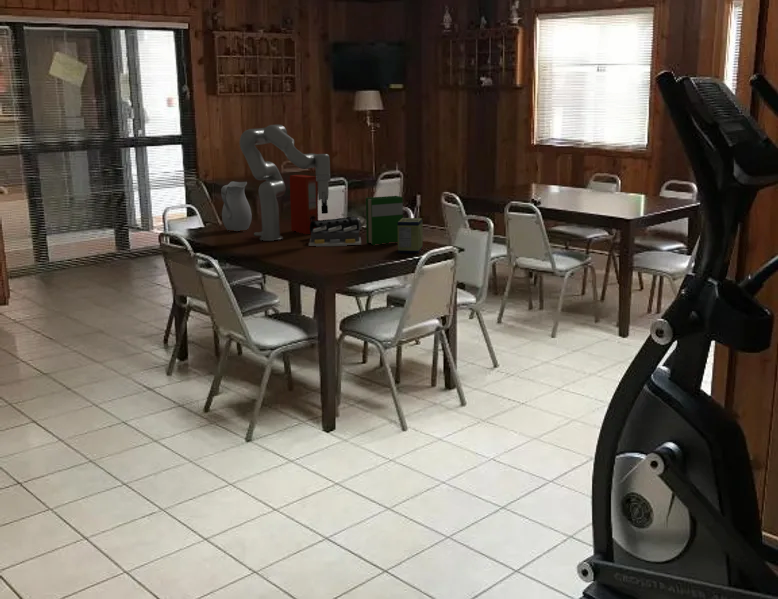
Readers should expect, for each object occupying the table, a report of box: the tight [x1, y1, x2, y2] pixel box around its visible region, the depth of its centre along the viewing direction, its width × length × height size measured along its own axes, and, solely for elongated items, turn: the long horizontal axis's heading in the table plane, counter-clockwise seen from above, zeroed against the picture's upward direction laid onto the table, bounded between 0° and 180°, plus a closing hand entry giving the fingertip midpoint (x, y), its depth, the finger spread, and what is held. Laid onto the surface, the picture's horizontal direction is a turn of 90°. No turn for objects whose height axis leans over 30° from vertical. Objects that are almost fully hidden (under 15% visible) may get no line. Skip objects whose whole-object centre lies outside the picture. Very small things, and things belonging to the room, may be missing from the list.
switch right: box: [344, 225, 357, 232], centre depth 446 cm, size 7×6×1 cm
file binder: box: [289, 174, 319, 235], centre depth 479 cm, size 8×17×32 cm, turn 36°
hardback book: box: [365, 195, 404, 246], centre depth 441 cm, size 18×7×24 cm, turn 116°
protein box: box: [397, 217, 424, 254], centre depth 419 cm, size 10×16×16 cm
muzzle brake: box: [310, 216, 362, 233], centre depth 465 cm, size 10×28×10 cm, turn 124°
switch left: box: [313, 226, 326, 233], centre depth 445 cm, size 7×6×1 cm
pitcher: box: [220, 181, 253, 231], centre depth 485 cm, size 24×17×28 cm
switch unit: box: [308, 230, 362, 247], centre depth 445 cm, size 27×20×6 cm
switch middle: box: [328, 225, 342, 232], centre depth 445 cm, size 7×6×1 cm
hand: (324, 213), depth 443 cm, fingers closed
